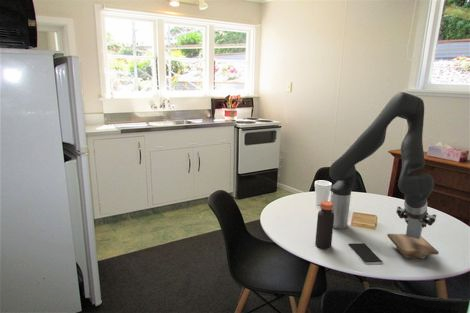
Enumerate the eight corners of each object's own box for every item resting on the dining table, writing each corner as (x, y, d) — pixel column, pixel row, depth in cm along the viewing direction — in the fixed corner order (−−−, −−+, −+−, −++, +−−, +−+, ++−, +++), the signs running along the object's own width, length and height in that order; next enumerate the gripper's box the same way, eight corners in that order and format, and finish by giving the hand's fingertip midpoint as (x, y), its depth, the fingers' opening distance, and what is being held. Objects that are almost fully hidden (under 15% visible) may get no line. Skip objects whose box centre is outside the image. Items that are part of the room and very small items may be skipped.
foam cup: (311, 200, 185) (312, 180, 182) (325, 200, 186) (327, 180, 183) (316, 207, 176) (318, 185, 173) (332, 206, 177) (334, 185, 174)
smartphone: (364, 242, 137) (383, 261, 122) (364, 245, 137) (383, 264, 123) (347, 243, 136) (364, 262, 122) (347, 245, 136) (364, 265, 122)
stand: (401, 261, 124) (402, 250, 123) (386, 243, 138) (387, 233, 137) (436, 262, 124) (438, 251, 123) (418, 244, 137) (419, 234, 136)
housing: (419, 239, 125) (423, 216, 123) (405, 235, 128) (409, 213, 126) (421, 234, 129) (424, 212, 127) (407, 231, 132) (411, 209, 130)
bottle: (313, 241, 139) (317, 199, 134) (328, 241, 138) (332, 200, 134) (317, 249, 132) (321, 206, 127) (332, 249, 132) (337, 206, 127)
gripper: (439, 201, 114) (437, 220, 126) (397, 192, 123) (398, 211, 135) (436, 219, 111) (434, 237, 123) (392, 209, 120) (394, 226, 132)
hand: (415, 223), depth 129 cm, fingers closed on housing, 5 cm apart
